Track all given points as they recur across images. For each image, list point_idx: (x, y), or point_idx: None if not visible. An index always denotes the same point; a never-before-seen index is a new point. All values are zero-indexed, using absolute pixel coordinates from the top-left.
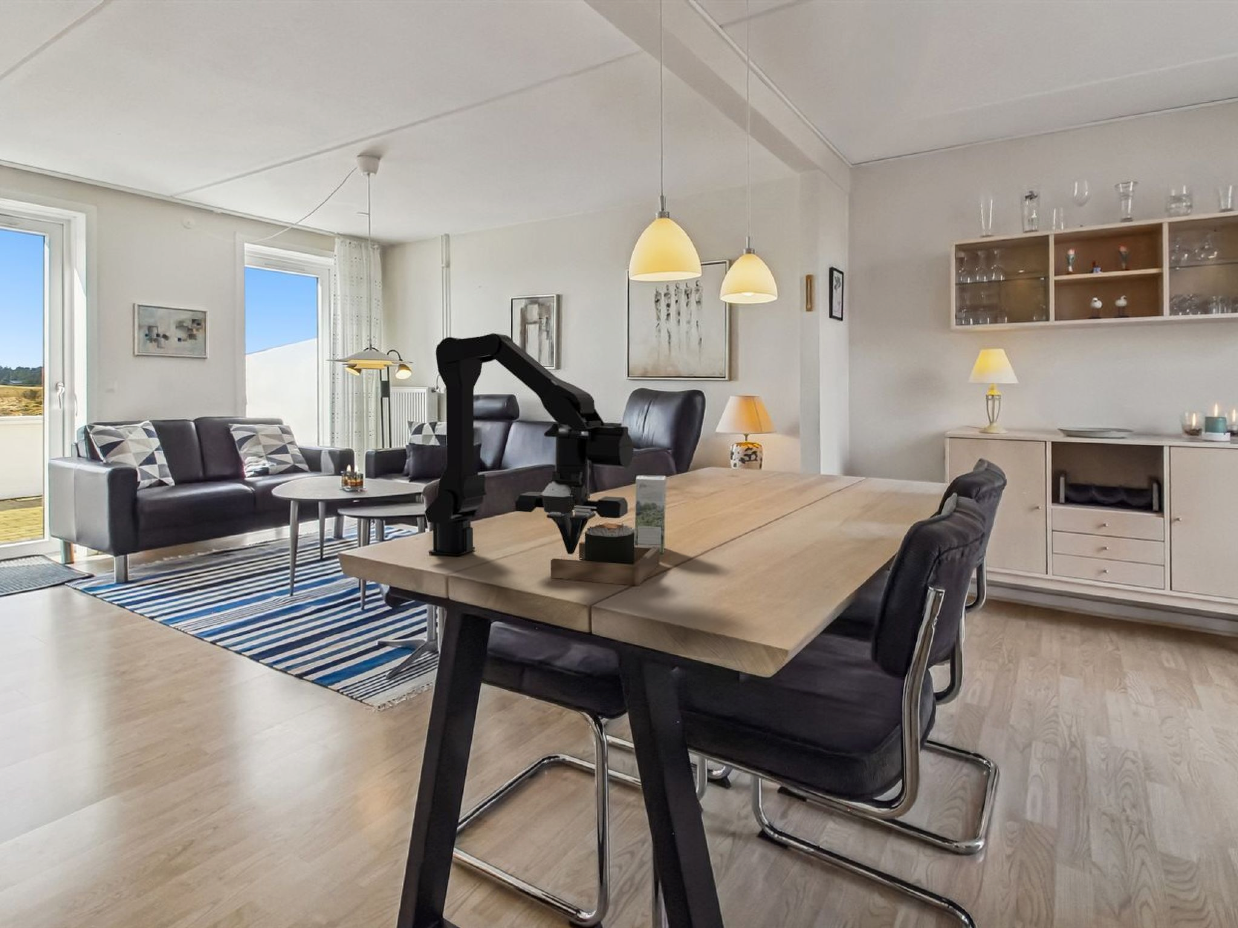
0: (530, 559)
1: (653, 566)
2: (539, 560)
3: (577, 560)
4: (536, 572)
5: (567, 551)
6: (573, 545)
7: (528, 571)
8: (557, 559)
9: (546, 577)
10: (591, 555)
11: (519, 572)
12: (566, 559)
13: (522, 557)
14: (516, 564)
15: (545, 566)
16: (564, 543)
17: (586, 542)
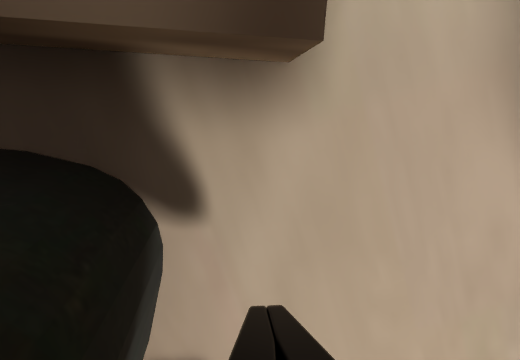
0: (469, 336)
1: None
2: (429, 335)
3: (77, 16)
4: (398, 123)
5: (284, 311)
6: (238, 348)
7: (441, 131)
8: (276, 6)
9: None
10: (12, 205)
11: (482, 97)
12: (197, 31)
13: (507, 353)
14: (516, 239)
15: (380, 249)
16: (324, 350)
17: (15, 317)
